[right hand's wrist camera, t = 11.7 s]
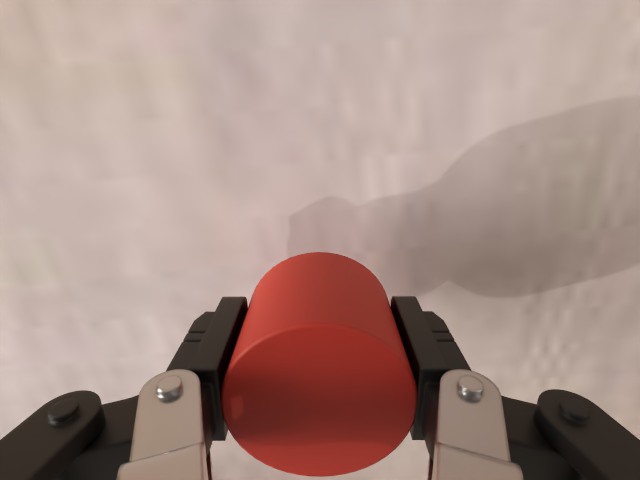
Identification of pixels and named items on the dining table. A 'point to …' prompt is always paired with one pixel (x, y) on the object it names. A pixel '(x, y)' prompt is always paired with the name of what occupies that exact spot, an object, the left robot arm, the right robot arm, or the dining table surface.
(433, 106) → the dining table surface
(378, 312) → the can
